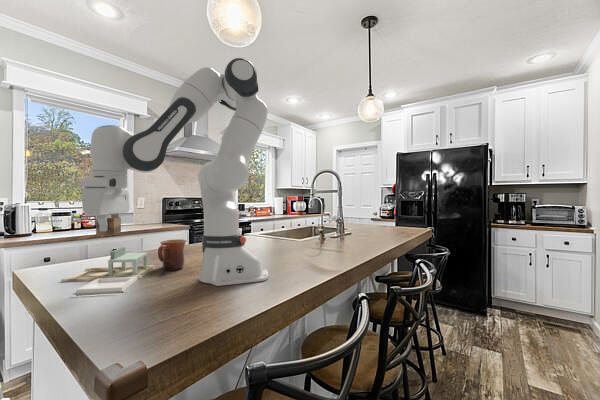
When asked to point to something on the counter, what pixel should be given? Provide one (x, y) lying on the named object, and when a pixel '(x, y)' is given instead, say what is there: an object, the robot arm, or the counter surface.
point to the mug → (172, 254)
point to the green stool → (126, 260)
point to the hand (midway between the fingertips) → (109, 230)
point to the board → (95, 273)
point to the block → (110, 227)
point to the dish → (106, 285)
